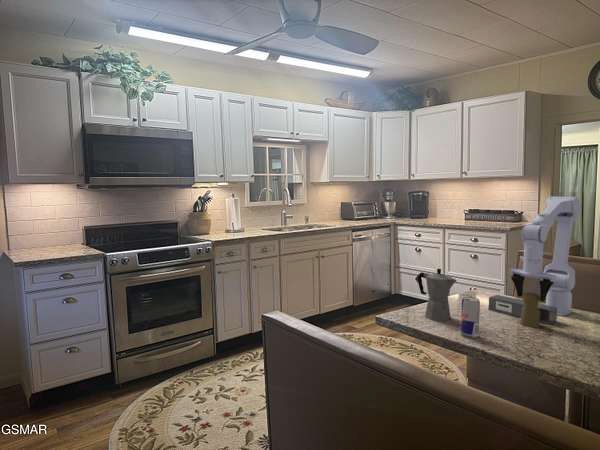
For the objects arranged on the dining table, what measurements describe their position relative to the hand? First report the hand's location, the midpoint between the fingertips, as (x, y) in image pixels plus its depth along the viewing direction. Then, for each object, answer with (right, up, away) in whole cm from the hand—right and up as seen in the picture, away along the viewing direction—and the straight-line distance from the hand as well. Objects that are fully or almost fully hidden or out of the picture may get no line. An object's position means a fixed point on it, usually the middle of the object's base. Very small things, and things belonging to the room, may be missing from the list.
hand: (531, 298), depth 144 cm
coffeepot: (-30, -9, +10) cm, 33 cm away
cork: (0, -9, +1) cm, 9 cm away
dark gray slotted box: (+2, -8, +11) cm, 14 cm away
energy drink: (-25, -10, -10) cm, 29 cm away
